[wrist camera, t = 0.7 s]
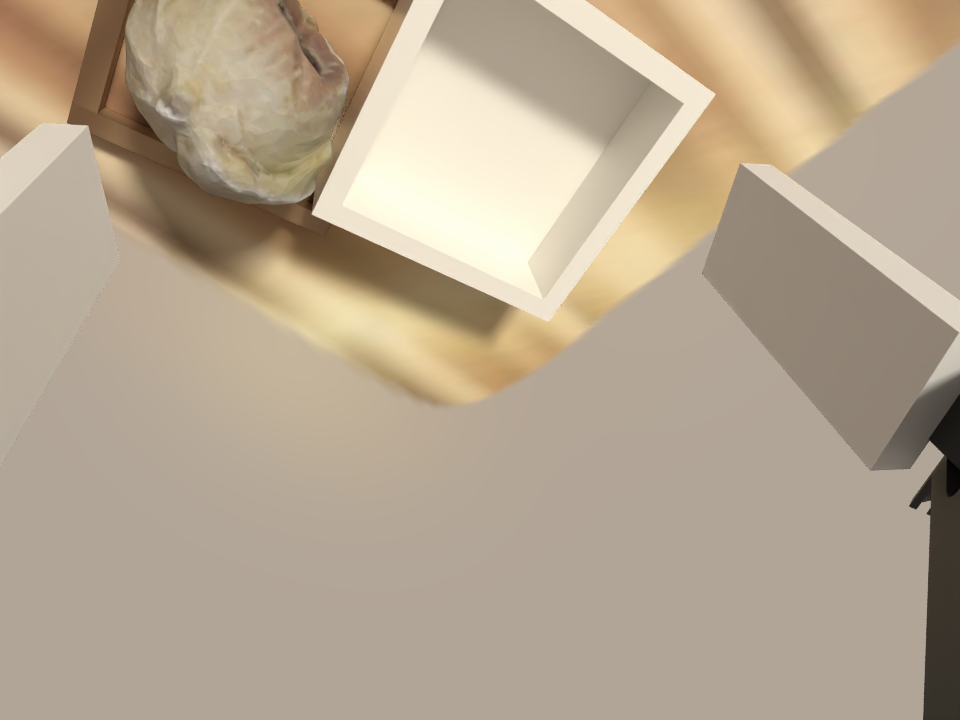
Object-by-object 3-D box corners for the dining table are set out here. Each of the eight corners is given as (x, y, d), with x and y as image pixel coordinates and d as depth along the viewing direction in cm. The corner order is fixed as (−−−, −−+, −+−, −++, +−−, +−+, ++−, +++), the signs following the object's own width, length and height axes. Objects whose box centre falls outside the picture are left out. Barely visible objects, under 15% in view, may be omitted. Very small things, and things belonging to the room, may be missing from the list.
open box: (317, 174, 33) (311, 214, 29) (443, -97, 27) (457, -93, 23) (529, 276, 38) (548, 321, 34) (673, 68, 32) (715, 94, 29)
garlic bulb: (313, 131, 34) (319, 278, 29) (129, 77, 30) (97, 236, 25) (377, -47, 27) (400, 102, 22) (151, -147, 23) (114, 5, 18)
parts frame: (74, 116, 30) (66, 122, 29) (158, -206, 24) (151, -209, 23) (325, 228, 35) (324, 236, 34) (445, -16, 29) (448, -13, 28)
